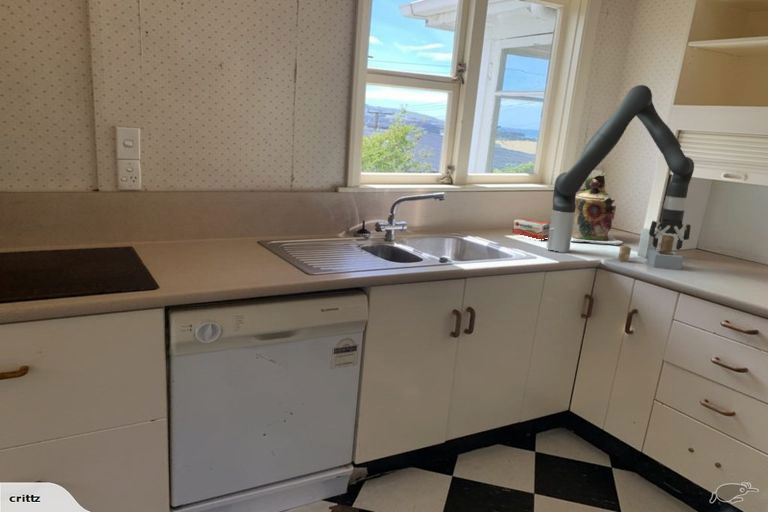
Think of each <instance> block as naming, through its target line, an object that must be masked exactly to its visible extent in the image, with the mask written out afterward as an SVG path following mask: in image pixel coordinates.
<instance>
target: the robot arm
mask: <svg viewBox="0 0 768 512" xmlns="http://www.w3.org/2000/svg"><path fill="white" fill-rule="evenodd" d="M635 117H637V118H638V120H639V121H640V123H642V124H643V125H644V127H645V129H646V130H647V132H648V133H649V135H650V137H651V138H652V140H653V142H654V143H655V145H656V147H657V148H658V150H659V151H660V153H661V154H662V155H663V158H664V160H665V163H666V164H667V167H668V169H669V170H670V172H671V173H673V174H672V178H671V181H670V182H669V183H668V186H667V192H666V196H665V199H664V203H663V208H662V214H661V220H660V221H655V220H652V221H651V223H650V227H649V228H650V232H649V235H650V236H652V237H653V243H652V245H653V246H654V247H655V249H656V248H657V247H658V243H659V238H660V237H661V236H662V235H664V234H667V235H668V234H671V235H676V237H677V241H676V246H675V250H681V249H682V248H683V243H684V241H687V240H689V239H690V235H691V234H690V233H691V224H689V223H686V224H685V223H684V224H683V219H684V215H685V211H686V210H685V209H686V205H687V197H688V192H689V191H688V190H689V185H690V182H691V180H692V177H693V174H694V170H695V161H694V160H693V159H692V158H691V157H689V156H686V155H685V153H684V152H683V150H682V149H681V143H680V141H679V140H678V138H677V137H676V135H675V134H674V132H673V131H672V130H671V128H670V127H669V126H668V125H667V124H666V123H665V122H664V120H663V119H662V118H661V117H660V115H659V114H658V112H657V110H656V108H655V105H654V103H653V93H652V90H651V88H650V87H648V86H647V85H645V84H640V85H639V84H638V85H636V86H634V87H632V88H631V89H630V90H629V91H628V92H627V94H626V95H625V97H624V98H623V99H622V101H621V103H620V104H619V106H618V107H617V108H616V110H615V111H614V112H613V113H612V115H611V116H609V118H608V119H607V120H606V121H605V122H604V123H603V124H602V125H601V126H600V128H599V129H598V130H597V131H596V132H595V133H594V134H593V135H592V137H591V138H590V140H588V142H587V144H586V145H585V146H584V148H583V151H582V152H581V154H580V157H579V158H578V160H576V162H575V163H574V165H572V167H571V168H570V169H569V170H568V171H567V172H566V171H565V172H562V173H560V174H559V175H558V176H557V177H556V179H555V181H554V185H553V196H552V210H551V219H550V227H549V233H548V239H547V242H546V249H547V248H548V249H549V250H548V251H550V250H555V251H560V252H559V253H569V252H570V248H571V243H572V242H571V236H572V230H573V223H574V216H575V209H576V204H575V198H576V195H577V193H578V192H579V191H580V189H581V188H582V187H583V185H584V184H585V182H586V180H587V179H588V178H589V176H590V175H591V173H592V172H593V171H594V170H595V169H597V167H598V166H599V165H600V163H602V162H603V160H604V159H605V158H606V157H607V155H609V153H611V151H612V150H613V149H614V148H615V146H616V145H617V144H618V142H619V141H620V139H621V138H622V137H623V135H624V133H625V132H626V131H627V130H626V129H627V127H628V126H629V124H631V122H632V121H633V119H634V118H635ZM658 226H659V229H658V231H657V232H656V233H655V234H654V232H655V229H657V227H658ZM681 229H683V230H684V232H683V235H682V233H681V231H680V230H681ZM555 251H554V252H555Z"/></svg>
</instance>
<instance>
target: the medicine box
mask: <svg viewBox="0 0 768 512" xmlns="http://www.w3.org/2000/svg"><path fill="white" fill-rule="evenodd" d="M550 224H551V222H545V221H541V220H540V221H539V220H533V219H527V218H518V219H514V221H513V224H512V225H513V226H512V233H515V234H520V235H524V236H528V237H532V238H536V239H541V240H542V239H545V238H548V233H549V227H550Z"/></svg>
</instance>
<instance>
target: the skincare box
mask: <svg viewBox="0 0 768 512" xmlns="http://www.w3.org/2000/svg"><path fill="white" fill-rule="evenodd" d="M658 230H659V229H658V228H655V232H654V234H655V233H656V232H657V231H658ZM649 232H650V227H643V228H641V232H640V237H639V244H638V249H637V250H638V251H637V256H638V257H641V258H646V259H647V256H648V251H649V249H650V250H656V247H654V246H653V245H652V243H653V237H652V236H650V235H649Z"/></svg>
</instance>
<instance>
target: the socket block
mask: <svg viewBox="0 0 768 512" xmlns="http://www.w3.org/2000/svg"><path fill="white" fill-rule="evenodd" d="M659 251H660V249H658V250H657V249H655V250H650V249H649V251H648V256H647V258H646V262H647V263H648V264H650V265H651V267H653V268H660V269H667V270H668V269H670V270H679V271H681V270H682V269H681V268H682V265H683V264H682V263H683V259H684V258H683V256H682V255H680V254H679V253H677V252H676V251H672V252H671V255H665V254H660V253H659Z"/></svg>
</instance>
